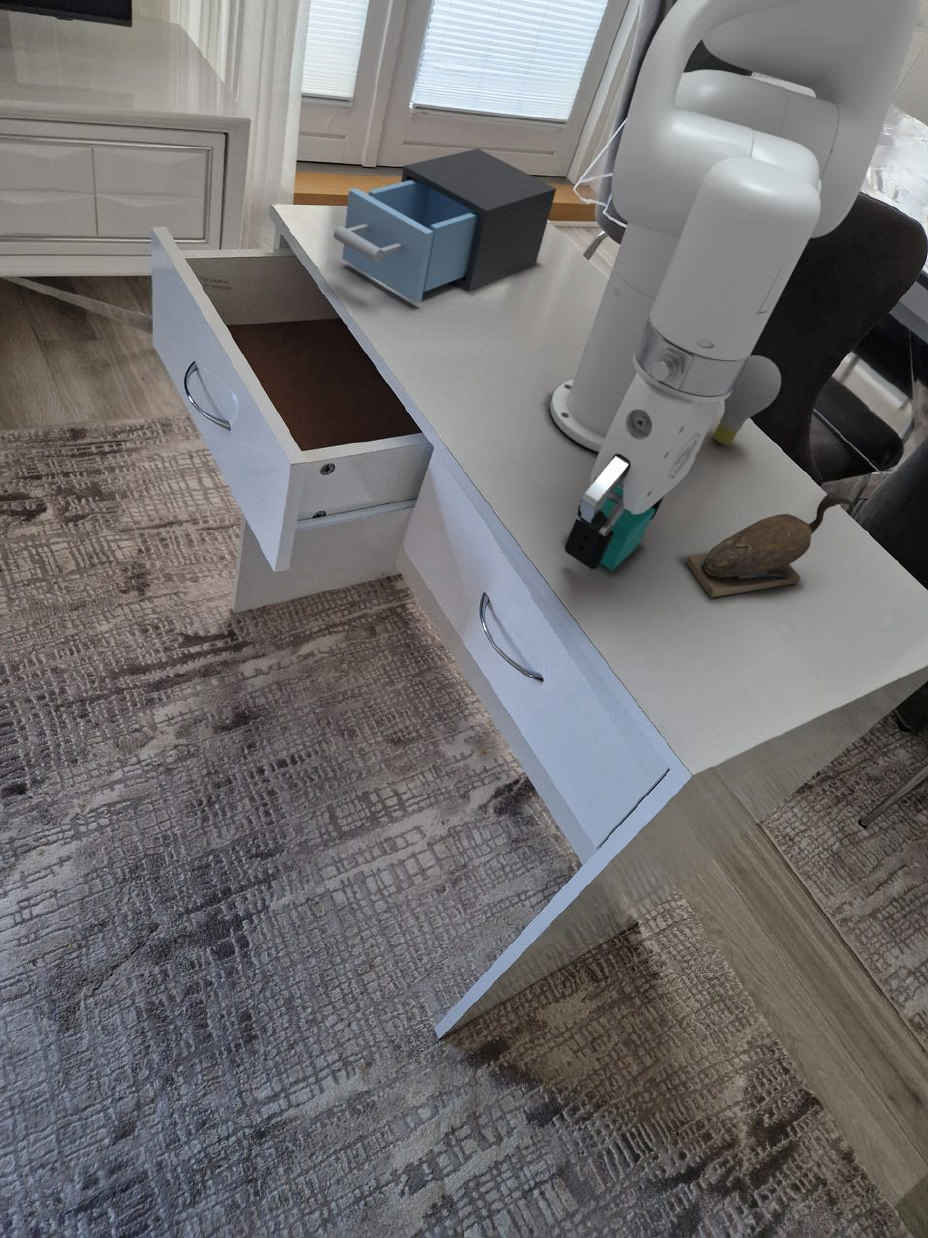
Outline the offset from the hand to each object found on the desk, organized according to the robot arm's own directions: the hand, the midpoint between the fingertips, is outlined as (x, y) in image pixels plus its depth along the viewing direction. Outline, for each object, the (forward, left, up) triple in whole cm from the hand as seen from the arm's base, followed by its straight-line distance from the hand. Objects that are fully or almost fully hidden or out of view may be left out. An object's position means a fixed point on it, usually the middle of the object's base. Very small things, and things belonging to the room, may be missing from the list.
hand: (609, 534), depth 70 cm
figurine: (-11, -10, -2) cm, 15 cm away
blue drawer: (+42, -21, -1) cm, 47 cm away
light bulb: (0, -25, -2) cm, 25 cm away
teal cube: (0, 0, -2) cm, 2 cm away
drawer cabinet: (+42, -33, -2) cm, 54 cm away
